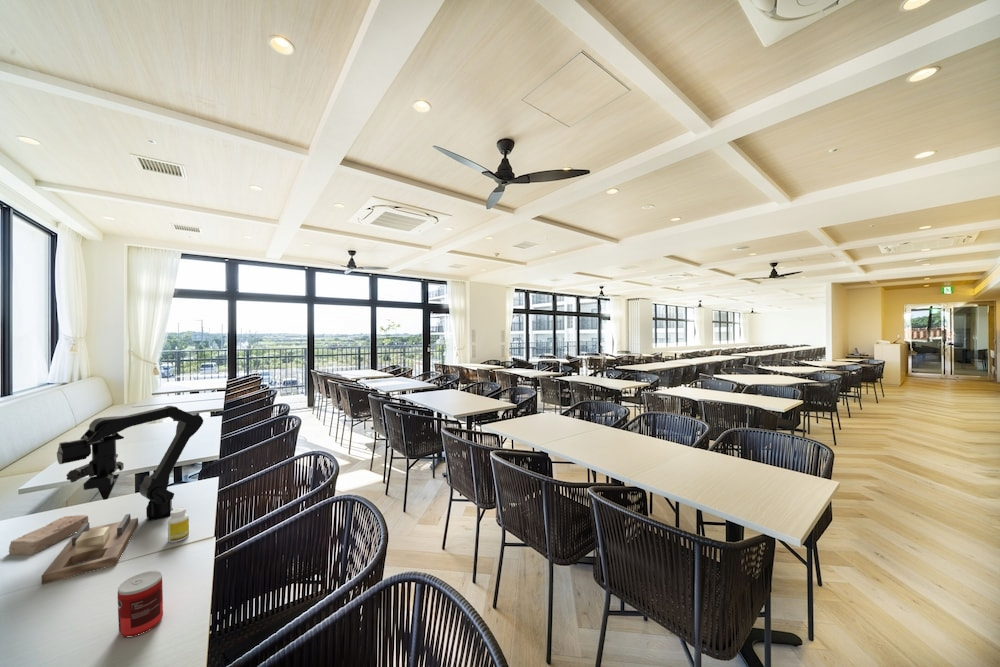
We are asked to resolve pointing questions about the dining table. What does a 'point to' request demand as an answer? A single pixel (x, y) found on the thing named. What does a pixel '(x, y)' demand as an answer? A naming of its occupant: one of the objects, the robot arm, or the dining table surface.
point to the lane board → (109, 552)
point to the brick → (47, 535)
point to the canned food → (140, 603)
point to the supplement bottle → (178, 525)
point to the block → (92, 540)
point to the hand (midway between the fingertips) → (105, 499)
